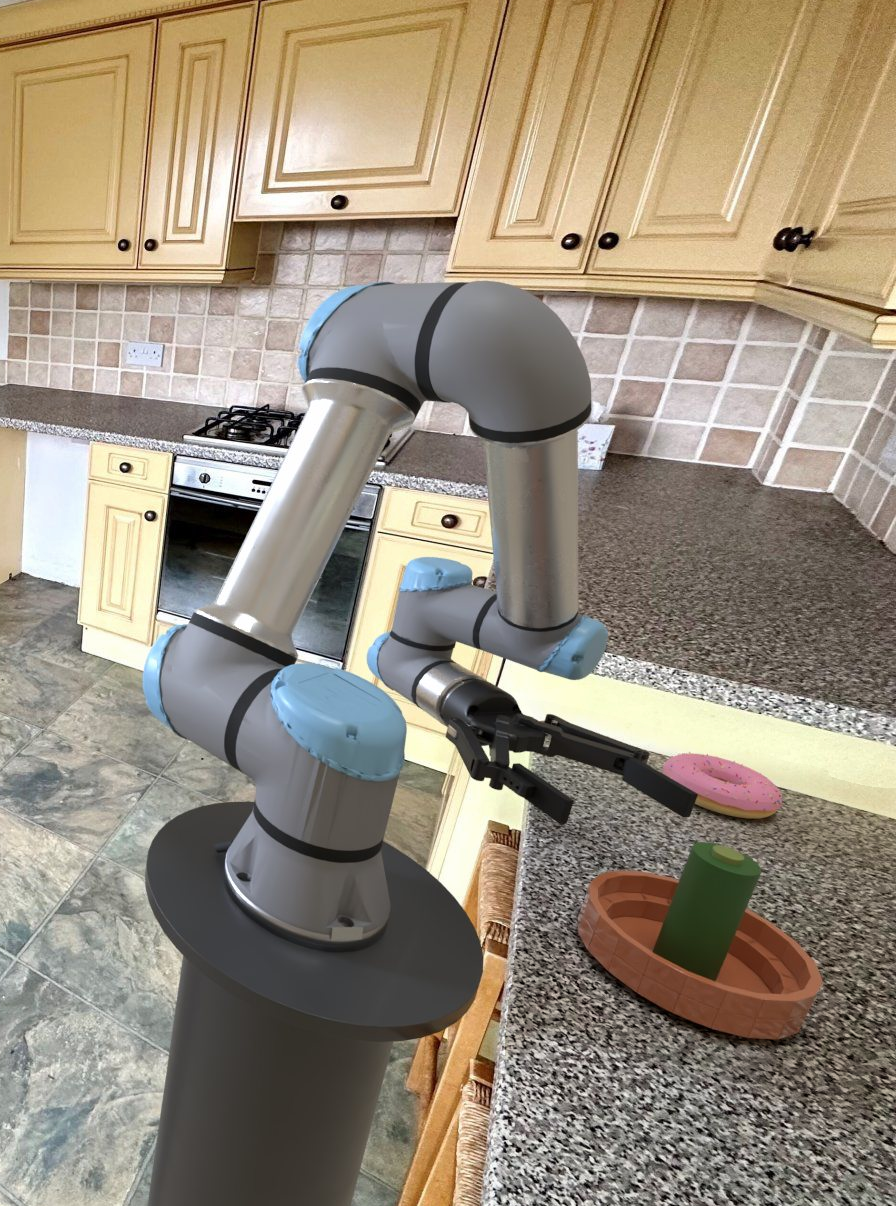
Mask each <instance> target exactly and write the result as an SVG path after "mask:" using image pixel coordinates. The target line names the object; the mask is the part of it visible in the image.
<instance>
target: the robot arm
mask: <svg viewBox="0 0 896 1206" xmlns="http://www.w3.org/2000/svg"><path fill="white" fill-rule="evenodd" d="M298 350H299V351H301V353H300V355H299V356H298V357H297V365H298V366H297V367H298V371H299V375H300V377H301V379H302V380H303V382H304V383H303V385H302V387H301V393H302V395H303V398H304V400H305V402H306V404H307V410H306V412H305V414H304V416H303V418H302V420H301V422H300V423H299V426H298V429H297V431H296V432H295V434H294V437H293V439H292V441H291V443H290V445H289V446H288V449H287V451H286V453H285V455H284V457H283V459H282V461H281V463H280V465H279V468H278V469H277V472H276V474H275V476H274V478H273V480H272V482H271V485H270V487H269V489H268V490H267V493H266V495H265V496H264V498H263V501H262V503H261V505H260V507H259V509H258V511H257V513H256V516H255V517H254V520H253V521H252V523H251V525H250V528H249V530H248V532H247V533H246V536H245V538H244V540H243V542H242V544H241V546H240V548H239V551H238V552H237V555H236V557H235V559H234V561H233V563H232V565H231V567H230V568H229V571H228V573H227V575H226V577H225V579H224V581H223V584H222V585H221V587H220V590H219V591H218V594H217V596H216V598H215V600H214V601H213V602H212V603H209V604H207V605H204V606H202V607H199V608H196V609H194V611H193V613H192V615H191V617H190V619H189V621H188V623H187V624H186V623H185V624H177V625H174V626H171V627H169V628H167V630H166V631H165V634H163V633H162V634H160V635H159V636H158V637H157V639H156V640H155V641H154V643H153V644H152V646H151V648H150V649H149V651H148V654H147V657H146V659H145V664H144V667H143V672H142V693H143V695H144V696H145V704H146V706H147V708H148V709H149V711H150V713H151V714H152V715H153V716H154V718H155V719H156V720H158V721H159V722H160V723H162V724H163V725H165V726H166V727H167V728H169V729H170V730H171V731H172V732H173V733H174V734H175V735H176V736H177V737H179V738H182V739H185V740H188V741H190V742H191V743H193V744H194V745H196V746H198V747H199V748H201V749H203V750H204V751H206V752H208V753H209V754H210V755H212V756H214V757H215V758H217V759H219V760H220V761H222V762H223V763H225V764H227V765H228V766H231V767H232V768H234V769H235V770H237V771H238V772H240V773H242V774H243V775H245V776H247V778H249V779H252V780H253V781H254V782H255V785H256V786H255V794H254V801H253V802H254V806H253V811H252V813H251V815H250V816H249V818H248V819H247V821H246V822H245V824H244V825H243V827H242V829H241V830H240V832H239V833H238V835H237V836H236V838H235V839H234V841H229V842H224V843H218V844H215V847H214V848H215V851H216V852H217V853H221V852H227V854H226V859H225V866H224V872H223V877H224V883H225V886H226V889H227V891H228V893H229V895H230V896H231V898H232V899H233V901H234V902H235V904H236V905H237V906H238V907H239V908H240V909H241V910H242V911H243V912H244V913H245V914H246V915H247V916H248V917H249V918H250V919H252V920H253V921H254V922H256V923H257V924H258V925H260V926H261V927H263V928H264V929H266V930H268V931H270V932H271V933H273V934H275V935H277V936H279V937H281V938H283V939H286V940H288V941H290V942H293V943H296V944H299V945H302V946H305V947H309V948H313V949H318V950H324V951H335V952H345V951H355V950H359V949H363V948H366V947H368V946H370V945H372V944H374V943H375V942H377V941H378V940H379V939H380V938H381V937H382V935H383V934H384V932H385V930H386V926H387V922H388V918H389V914H390V908H391V904H390V898H389V893H388V887H387V882H386V876H385V871H384V865H383V859H382V854H381V848H382V844H383V841H384V839H385V835H386V831H387V827H388V823H389V818H390V814H391V810H392V808H393V807H392V806H393V802H394V798H395V796H396V795H395V794H396V789H397V787H398V782H399V779H400V774H401V771H402V770H403V767H404V764H405V759H406V757H405V756H406V754H405V751H406V750H405V748H406V742H407V741H406V739H407V733H408V732H407V731H408V728H407V721H406V719H405V717H404V715H403V712H402V710H401V707H400V706H399V704H398V703H397V702H396V701H395V700H394V698H392V697H391V696H390V695H389V694H388V693H387V692H386V691H384V690H383V689H382V688H380V687H379V686H377V685H376V684H375V683H373V682H371V681H369V680H367V679H366V678H363V677H361V676H359V675H358V674H355V673H353V672H350V671H347V670H344V669H341V668H338V667H335V668H329V667H328V666H326V665H325V664H319V663H309V662H305V663H304V662H303V663H297V661H298V658H299V654H298V650H297V648H296V646H295V643H294V641H293V634H294V631H295V630H296V627H297V626H298V624H299V621H300V620H301V617H302V616H303V613H304V611H305V609H306V607H307V605H308V603H309V601H310V599H311V596H313V593H314V591H315V589H316V587H317V585H318V583H319V580H320V578H321V576H322V575H323V572H324V570H325V568H326V566H327V564H328V562H329V560H330V558H331V556H332V554H333V552H334V550H335V549H336V546H337V544H338V542H339V540H340V537H341V536H342V534H343V531H344V530H345V528H346V526H347V523H348V522H349V519H350V517H351V515H352V514H353V511H354V509H355V507H356V505H357V503H358V501H359V499H360V497H361V495H362V493H363V491H364V489H365V487H366V485H367V483H368V481H369V478H370V476H371V474H372V473H373V471H374V469H375V467H376V464H377V462H378V460H379V458H380V457H381V454H382V453H383V450H384V449H385V446H386V445H387V442H388V440H389V438H390V436H391V435H392V434H394V433H396V432H399V431H401V430H404V429H407V428H409V427H411V426H412V425H414V422H415V420H416V418H417V417H418V414H419V413H420V411H421V409H422V407H423V404H424V403H425V402H435V403H436V402H438V403H445V404H446V403H447V404H451V403H452V404H456V405H458V406H460V407H462V408H463V409H464V410H465V411H466V412H467V416H468V425H469V430H470V431H471V433H472V434H473V435H474V436H475V437H477V438H478V439H480V440H482V443H483V444H482V445H483V455H484V465H485V477H486V488H487V489H486V490H487V500H488V510H489V511H488V512H489V522H490V533H491V544H492V545H491V547H492V555H493V556H492V557H493V567H494V568H493V569H494V579H495V590H496V591H495V590H491V589H488V588H484V587H482V586H477V585H474V584H473V581H474V579H473V570H472V568H471V567H470V566H469V565H467V564H464V563H461V562H460V561H458V560H453V559H450V558H445V557H444V558H443V557H437V556H436V557H435V556H421V557H416V558H412V559H411V560H409V561H408V563H407V564H406V566H405V570H404V573H403V576H402V579H401V582H400V586H399V587H398V595H397V600H396V605H395V610H394V616H393V620H392V625H391V628H390V629H391V630H390V631H387V632H384V633H382V634H380V635H378V636H377V637H375V639H374V640H373V643H372V645H371V646H370V647H368V649H367V652H366V664H367V667H368V669H369V671H370V672H371V674H373V675H374V676H375V678H377V679H378V680H379V681H381V682H382V683H383V685H384V686H386V688H388V689H390V690H391V691H394V692H395V693H397V694H399V695H401V696H402V697H403V698H405V699H406V700H408V701H409V702H411V703H412V704H413V705H415V706H416V707H417V708H419V709H420V710H422V711H423V712H425V713H426V714H428V715H429V716H430V717H432V718H433V719H435V720H436V721H437V722H439V723H440V724H441V725H443V726H444V727H446V728H447V729H446V733H445V738H446V739H447V740H448V741H449V742H450V743H452V745H454V746H455V748H456V750H457V753H458V754H459V756H460V758H461V760H462V763H463V764H464V766H465V768H466V770H467V772H468V774H469V776H470V777H471V778H472V780H474V781H476V782H484V781H485V779H490V780H489V784H488V786H489V788H491V789H493V790H496V791H503V789H504V786H505V787H506V788H508V790H510V791H512V792H513V793H515V794H516V795H517V796H519V797H521V798H523V799H524V800H526V801H527V802H529V803H530V804H531V805H533V806H534V807H535V808H537V809H538V810H539V811H541V812H542V813H544V814H545V815H547V816H548V817H549V818H550V819H552V820H553V821H554V822H556V823H557V824H559V825H567V823H568V821H569V817H570V814H571V811H572V807H573V805H574V802H575V800H574V799H573V798H571V797H570V796H568V795H567V794H565V793H564V792H562V791H561V790H559V789H558V788H557V787H555V786H553V784H551V783H549V782H547V780H545V779H544V778H542V777H541V776H539V775H538V774H536V773H535V772H533V771H532V770H530V769H529V768H528V767H526V766H524V765H523V764H522V763H520V762H519V763H512V766H510V763H511V759H510V752H512V753H514V754H517V753H518V754H519V753H520V754H521V753H525V752H530V753H536V754H538V755H542V756H545V757H548V758H554V757H557V756H558V757H561V758H564V759H568V760H570V761H574V762H578V763H581V764H584V765H587V766H590V767H594V768H595V769H596V768H597V769H600V770H603V771H605V772H610V773H613V774H615V775H619V776H622V779H621V780H622V781H623V782H624V783H626V784H627V785H628V786H631V787H632V788H634V789H636V790H638V791H639V792H640V793H642V794H644V795H645V796H647V797H648V798H651V799H652V800H654V801H655V802H657V803H659V804H660V805H662V806H664V807H665V808H667V809H668V810H670V811H672V812H673V813H675V814H676V815H678V816H680V817H681V818H690V817H691V814H692V812H693V809H694V806H695V805H696V804H695V801H696V799H697V796H698V794H697V793H696V792H694V791H692V790H690V789H689V788H687V787H685V786H683V785H682V784H680V783H678V782H676V781H675V780H673V779H671V778H669V777H668V776H666V775H664V774H663V772H660V771H659V770H657V769H655V768H654V767H652V766H651V765H648V762H649V758H650V755H651V753H650V752H649V751H647V750H645V749H642V748H639V747H637V746H634V745H631V744H629V743H626V742H623V741H621V740H617V739H615V738H612V737H609V736H608V735H607V736H606V735H604V734H601V733H599V732H596V731H593V730H591V729H587V728H586V727H582V726H579V725H577V724H575V723H572V722H569V721H567V720H565V719H563V718H561V717H560V716H557V715H556V714H552V713H547V714H545V718H544V720H538V719H537V718H534V716H530V715H526V714H524V713H523V712H522V710H521V708H520V706H519V703H518V701H517V700H516V698H515V697H514V696H513V695H512V694H510V693H509V692H507V691H506V690H504V689H502V688H500V687H498V686H497V685H495V684H493V683H492V682H490V681H488V680H487V679H486V678H483V677H482V676H480V675H478V674H477V673H476V672H473V671H472V670H469V669H468V668H466V667H465V666H463V665H461V664H459V663H457V661H455V660H454V659H452V655H453V652H454V649H455V648H456V645H457V643H460V644H462V645H464V646H468V647H470V648H473V649H477V650H480V651H482V652H486V653H489V654H491V655H493V656H496V657H500V658H502V659H505V660H507V661H511V662H513V663H515V664H519V665H521V666H525V667H527V668H530V669H533V670H535V671H537V672H539V673H546V674H550V675H553V676H557V677H560V678H563V679H566V680H571V681H580V680H583V679H585V678H586V677H588V676H589V675H591V673H592V672H594V670H595V669H596V667H598V665H599V663H600V662H601V660H602V657H603V655H605V651H606V648H607V645H608V639H609V632H608V628H607V627H606V626H605V624H604V623H603V622H601V621H599V620H597V619H595V618H594V619H593V618H591V617H589V616H588V615H585V614H584V615H581V614H580V610H579V607H580V605H579V604H580V603H579V601H580V600H579V599H580V598H579V596H580V595H579V429H581V428H582V427H583V426H585V424H587V422H588V421H589V419H590V417H591V416H592V380H591V376H590V373H589V369H588V366H587V362H586V359H585V357H584V355H583V353H582V351H581V348H580V346H579V344H578V342H577V339H576V338H575V337H574V335H573V334H572V333H571V331H570V330H569V328H568V327H567V325H566V324H565V323H564V321H563V320H562V318H561V317H559V315H558V314H557V312H555V311H554V310H553V309H552V308H551V307H549V305H547V304H546V303H545V302H544V301H542V299H540V298H538V297H537V296H535V295H534V294H533V293H531V292H529V291H527V290H526V289H523V288H521V287H519V286H516V285H512V284H509V283H507V282H506V283H505V282H501V281H494V280H473V281H454V282H453V281H451V282H411V283H409V282H408V283H405V282H404V283H395V282H392V281H376V282H371V283H368V284H357V285H351V286H346V287H344V288H342V289H340V290H337V291H335V292H334V293H332V294H331V295H329V296H328V297H327V298H326V299H324V300H323V302H322V303H320V304H319V305H318V306H317V308H316V309H315V310H314V312H313V313H312V314H311V316H310V318H309V319H308V320H307V322H306V325H305V327H304V329H303V331H302V334H301V337H300V340H299V345H298ZM546 739H547V740H549V743H548V744H549V745H548V746H544V745H545V741H546ZM487 746H488V749H489V751H488V752H489V755H487V753H486V751H485V750H484V748H483V747H487ZM488 756H489V757H490V758H489V757H488Z"/></svg>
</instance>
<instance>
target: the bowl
mask: <svg viewBox="0 0 896 1206" xmlns="http://www.w3.org/2000/svg"><path fill="white" fill-rule="evenodd" d="M679 880H680V879H677V878H674V877H671V876H667V875H661V874H658V873H657V874H656V873H652V872H646V871H641V870H639V871H638V870H618V869H617V870H612V871H608V872H604V873H603V872H602V873H600V874H598V875H597V876H596V877H595V878H594V879H593V880H592V881H590V882H589V884H588V887H587V889H586V892H585V896H584V898H583V901H582V904H581V907H580V910H579V913H578V916H577V933H578V936H579V937H580V939H581V941H582V942H583V944H584V946H585V948H586V950H587V951H588V952H589V953H590V955H592V957H593V958H595V959H596V961H597V962H598V963H599V964H600V965H601V966H602V967H603V968H604V969H605V970H606V971H607V972H608V973H610V974H611V975H612V976H614V977H615V978H616V979H617V980H619V981H620V982H622V983H623V985H626V986H627V987H628V988H629V989H631V990H632V991H633V992H635V993H637V994H638V995H640V996H641V997H642V998H644V999H646V1000H648V1001H649V1002H651V1003H652V1004H654V1005H656V1006H657V1007H660V1008H661V1009H664V1010H665V1011H668V1012H670V1013H672V1014H673V1015H676V1016H678V1017H681V1018H683V1019H685V1020H687V1021H690V1022H692V1023H695V1024H698V1025H699V1026H703V1027H705V1028H708V1029H711V1030H715V1031H719V1032H723V1033H727V1034H731V1035H735V1036H739V1037H742V1038H745V1039H746V1038H747V1039H760V1040H762V1039H763V1040H782V1039H785V1038H787V1037H790V1036H793V1035H796V1034H798V1033H799V1032H800V1030H801V1029H802V1026H803V1024H804V1022H805V1020H806V1018H807V1016H808V1014H809V1012H810V1010H811V1008H812V1006H813V1004H814V1001H815V1000H816V997H817V995H818V993H819V991H820V989H821V987H822V985H823V978H822V976H821V973H820V971H819V968H818V965H817V963H816V962H815V961H814V960H813V959H812V957H811V955H809V954H808V953H807V952H806V950H805V949H804V948H803V947H802V946H801V945H800V944H799V943H798V942H797V941H796V940H795V939H794V938H792V937H791V936H790V935H788V934H787V933H786V932H784V931H783V930H782V929H780V928H779V927H778V926H777V925H775V924H774V923H773V922H771V921H769V920H767V919H766V918H764V917H763V916H761V915H759V914H757V913H756V912H754V911H753V910H751V909H749V908H746V910H745V913H744V915H743V917H742V920H741V922H740V925H739V927H738V929H737V932H736V934H735V936H734V939H733V941H732V944H731V946H730V948H729V951H728V953H727V956H726V958H725V960H724V963H723V965H722V967H721V970H720V972H719V975H718V977H717V979H716V981H713V980H710V979H707V978H705V977H702V976H700V975H697V974H694V973H692V972H689V971H687V970H685V969H683V968H681V967H679V966H678V965H676V964H674V963H672V962H670V961H668V960H666V959H664V958H662V957H660V956H658V955H656V954H655V953H653V948H654V946H655V943H656V941H657V938H658V935H659V933H660V930H661V927H662V925H663V922H664V920H665V917H666V914H667V912H668V909H669V906H670V904H671V901H672V899H673V896H674V893H675V891H676V888H677V885H678V883H679Z"/></svg>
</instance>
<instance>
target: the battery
mask: <svg viewBox="0 0 896 1206" xmlns="http://www.w3.org/2000/svg"><path fill="white" fill-rule="evenodd" d="M762 872H763V871H762V868H761V866H760V865H759V864H758V863H757V862H756V861H755V860H754V859H752V858H751V857H750V856H748V855H746V854H744V853H743V852H740V851H739V850H736V849H734V848H731V847H729V846H725V845H723V844H720V843H719V844H718V843H713V842H709V841H708V842H707V841H699V842H698V841H697V842H695V843H693V844H692V846H691V849H690V852H689V854H688V857H687V860H686V861H685V865H684V867H683V870H682V872H681V875H680V878H679V879H678V880H679V883H678V885H677V888H676V891H675V893H674V896H673V899H672V901H671V904H670V906H669V909H668V912H667V914H666V917H665V920H664V922H663V925H662V927H661V930H660V933H659V935H658V938H657V941H656V943H655V946H654V948H653V953H655V954H656V955H658V956H660V957H662V958H664V959H666V960H668V961H670V962H672V963H674V964H676V965H678V966H679V967H681V968H683V969H685V970H687V971H689V972H692V973H694V974H697V975H700V976H702V977H705V978H707V979H710V980H713V981H716V979H717V977H718V975H719V972H720V970H721V967H722V965H723V963H724V960H725V958H726V956H727V953H728V951H729V948H730V946H731V944H732V941H733V939H734V936H735V934H736V932H737V929H738V927H739V925H740V922H741V920H742V917H743V915H744V913H745V910H746V908H747V907H748V906H749V903H750V901H751V899H752V896H753V894H754V891H755V889H756V887H757V884H758V881H759V879H760V878H761V877H760V876H761V875H762ZM747 909H748V908H747Z"/></svg>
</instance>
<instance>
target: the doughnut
mask: <svg viewBox="0 0 896 1206" xmlns="http://www.w3.org/2000/svg"><path fill="white" fill-rule="evenodd" d="M662 774H664V775H666V776H668V777H669V778H671V779H673V780H675V781H676V782H678V783H680V784H682V785H683V786H685V787H687V788H689V789H690V790H692V791H694V792H696V793H697V794H698V796H697V799H696V801H695V804H694V805H697V806H699V807H701V808H704V809H706V810H709V811H712V812H715V813H718V814H721V815H725V816H730V817H734V818H739V819H740V818H741V819H763V818H764V819H765V818H768V817H771V816H773V815H774V814H775V813H776V812H777V811H778V810H779V809H781V808H782V806H783V797H784V796H783V795H782V793H781V789H780V788H778V786H777V785H776V784H775V783H774V782H773V781H771V780H770V779H769V778H768V777H767V776H765V775H763V774H762V773H760V772H758V771H756V770H754V769H752V768H750V767H748V766H745V765H744V764H743V763H741V764H740V763H738V762H736V761H735V760H733V761H732V760H729V759H725V758H721V757H719V756H715V755H709V754H708V753H706V754H702V753H691V751H688V753H687V752H686V753H678V754H677V755H674V756H673V755H671V756H670V758H668V759H667V760H666V761H665V762H664V764H663V765H662Z"/></svg>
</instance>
